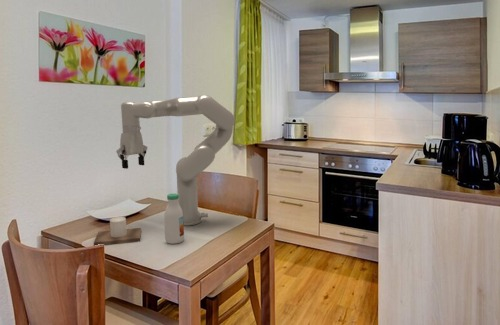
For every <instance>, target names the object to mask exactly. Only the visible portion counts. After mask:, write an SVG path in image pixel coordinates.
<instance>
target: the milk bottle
mask: <svg viewBox="0 0 500 325" xmlns="http://www.w3.org/2000/svg"><path fill="white" fill-rule="evenodd" d="M166 196H167V197H166V199H167V202H168V203H167V205H166V207H165V210H164V214H163V215H164V238H165V239H164V240H165V243H167V244H171V245H172V244H173V245H174V244H180V243H182V242H184V240H185V230H184V229H185V228H184V223H183V212H182V209H181V207H180V205H179V202H178V200H179V195H178V194H177V193H169V194H167V195H166Z"/></svg>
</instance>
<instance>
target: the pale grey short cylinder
mask: <svg viewBox="0 0 500 325" xmlns="http://www.w3.org/2000/svg"><path fill="white" fill-rule="evenodd" d="M109 228H110V230H109V231H111V237H115V238H116V237H123V236H125V235H127V229H128V228H127V218H126V216H115V217H112V218H110V219H109Z"/></svg>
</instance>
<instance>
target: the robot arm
mask: <svg viewBox="0 0 500 325" xmlns="http://www.w3.org/2000/svg"><path fill="white" fill-rule="evenodd" d="M120 109H121V112H120V113H121V123H122V124H121V126H122V133H121V134H120V140H119V141H120V144H119V147H120V148H118V149H117V150H116V151H115V152H116V154H117V156H118V158H119V160H121V166H122V167H121V168H122V169H124V170H125V169H126V170H127V169H129V160H128V157H129V156H133V155H134V156H135V155H138V158H137V159H138V160H137V162H138V165H139V166H145V156H146V155H147V151H148V146H146V145H144V141H143V137H142V136H143V135H142V133H141V129H142V127H141V125H140V121H141V120H140V119H152V118H160V117H186V116H187V117H188V116H197V115H199V116H200V115H203V116H205V118H207V119H208V120H209V121H210V122H212V123H214V124H215V128H214V130H213V131H212V132H211V133H210V134H209V135H208V136H207V137H206V138H205V139H203V140H202V141H201V142H200V143H198V144H197V145H196V146H195V147H194V149H193V151H192V152H191V153H190V154H189V155H188V156H187V157H186V156H185V157H182V158H180V159H179V160H178V161H177V163H176V168H175V173H176V185H177V186H176V188H177V189H176V190H177V191H176V192H177V193H176V194H178V195H179V200H178V202H179V205H180V207H181V209H182V212H183V223H184V226H195V225H198V224H200V223H202V218H208V214H209V213H208V212H200V211H199V204H198V199H199V198H198V176H199V175H200V174H201V173H203V171H205V170H206V169H207V168H208V167H210V165H211V164H212V163H213V162H214V161H215V158H216V154H217V153H218V152H220V151H221V149H222V148H224V146H226V145H227V143H228V142H229V141H230V140H231V137H232V135H233V131H234V125H235V123H236V119H235V116H234V114H233V113H232V112H231V111H230V110H228V109H227V108H226V107H224V105H222V104H221V103H219V102H218V101H217V100H215V99H214V98H213V97H211V96H210V95H206V94H204V95H196V96H194V95H193V96H185V97H175V98H172V99H165V100H156V101H140V102H137V101H136V102H135V101H132V102H131V101H127V102H126V101H123V102H122V103H121V104H120Z"/></svg>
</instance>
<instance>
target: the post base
mask: <svg viewBox="0 0 500 325" xmlns="http://www.w3.org/2000/svg"><path fill="white" fill-rule="evenodd" d="M141 237H142V227H134V228H127V235H125V236H123V237H116V238H115V237H111V230H102V231H101V230H99V231H97V234H96V236H95V239H94V241H93V246H94V245H98V244H105V245H104V246H108V245H109V244H110V245H117V244H119V245H120V244H128V243H135V242H136V243H137V242H138V241H139V242H141V240H142V239H141Z"/></svg>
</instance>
